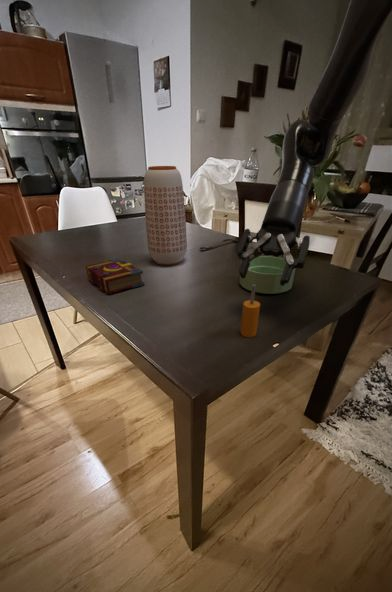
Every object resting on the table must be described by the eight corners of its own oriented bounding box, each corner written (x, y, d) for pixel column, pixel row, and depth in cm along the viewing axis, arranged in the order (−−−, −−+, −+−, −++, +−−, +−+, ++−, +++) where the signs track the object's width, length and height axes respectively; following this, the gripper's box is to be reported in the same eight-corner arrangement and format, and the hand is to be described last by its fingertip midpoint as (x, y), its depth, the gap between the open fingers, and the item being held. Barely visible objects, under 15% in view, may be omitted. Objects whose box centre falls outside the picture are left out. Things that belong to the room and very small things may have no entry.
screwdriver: (255, 329, 62) (262, 281, 56) (256, 337, 59) (263, 289, 53) (240, 328, 62) (244, 281, 56) (240, 337, 60) (245, 288, 53)
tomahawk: (227, 240, 123) (227, 238, 123) (239, 242, 119) (239, 239, 118) (191, 249, 112) (191, 246, 111) (202, 251, 107) (202, 248, 107)
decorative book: (108, 296, 76) (104, 278, 74) (86, 279, 87) (82, 262, 84) (144, 285, 82) (142, 268, 79) (120, 270, 92) (117, 255, 90)
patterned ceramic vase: (189, 266, 95) (187, 167, 79) (149, 269, 93) (139, 168, 77) (184, 254, 106) (182, 165, 89) (149, 256, 104) (139, 165, 88)
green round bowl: (287, 276, 87) (291, 256, 84) (296, 296, 75) (300, 275, 72) (238, 274, 89) (240, 255, 85) (239, 294, 77) (241, 273, 73)
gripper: (250, 196, 59) (225, 266, 58) (321, 200, 54) (296, 278, 52) (255, 218, 66) (233, 282, 65) (319, 224, 61) (296, 294, 59)
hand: (261, 280), depth 59 cm, fingers open, 8 cm apart
